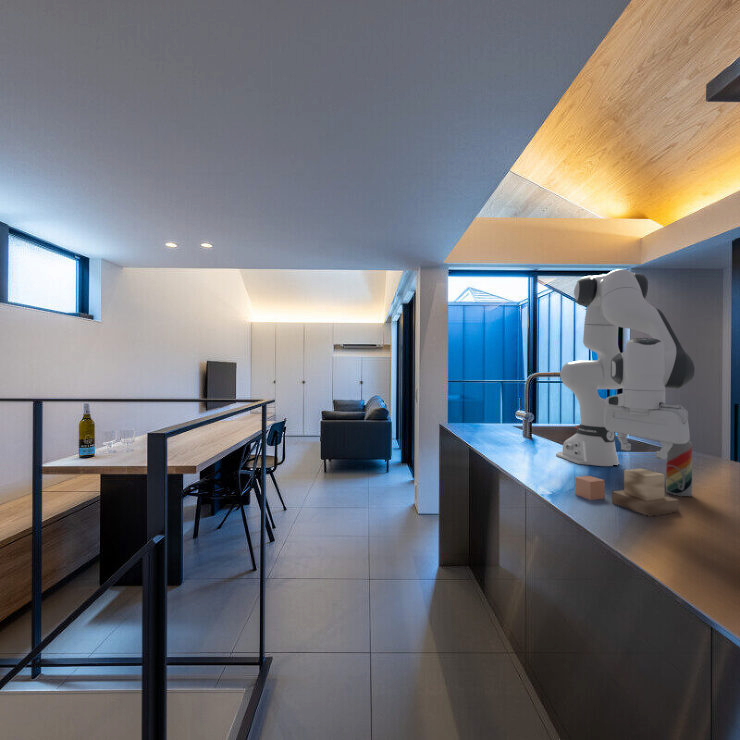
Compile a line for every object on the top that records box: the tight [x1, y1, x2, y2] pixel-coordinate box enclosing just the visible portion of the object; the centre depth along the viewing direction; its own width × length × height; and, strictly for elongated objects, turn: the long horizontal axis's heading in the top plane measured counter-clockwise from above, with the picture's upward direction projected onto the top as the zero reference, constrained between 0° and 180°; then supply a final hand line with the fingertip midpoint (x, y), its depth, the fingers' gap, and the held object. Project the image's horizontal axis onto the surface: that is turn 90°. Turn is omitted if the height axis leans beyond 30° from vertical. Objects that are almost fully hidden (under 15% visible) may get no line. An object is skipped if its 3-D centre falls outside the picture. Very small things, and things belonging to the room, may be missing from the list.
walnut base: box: [611, 489, 680, 517], centre depth 98 cm, size 10×10×3 cm
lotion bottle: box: [665, 440, 693, 497], centre depth 109 cm, size 6×6×20 cm
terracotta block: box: [574, 475, 606, 501], centre depth 107 cm, size 5×5×5 cm
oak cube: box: [623, 468, 665, 500], centre depth 99 cm, size 6×6×6 cm
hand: (643, 454), depth 99 cm, fingers open, 8 cm apart
